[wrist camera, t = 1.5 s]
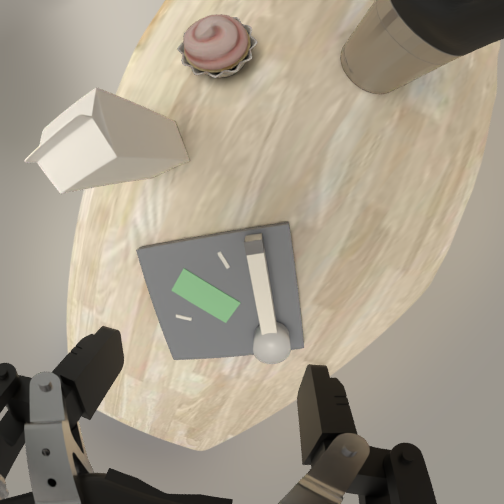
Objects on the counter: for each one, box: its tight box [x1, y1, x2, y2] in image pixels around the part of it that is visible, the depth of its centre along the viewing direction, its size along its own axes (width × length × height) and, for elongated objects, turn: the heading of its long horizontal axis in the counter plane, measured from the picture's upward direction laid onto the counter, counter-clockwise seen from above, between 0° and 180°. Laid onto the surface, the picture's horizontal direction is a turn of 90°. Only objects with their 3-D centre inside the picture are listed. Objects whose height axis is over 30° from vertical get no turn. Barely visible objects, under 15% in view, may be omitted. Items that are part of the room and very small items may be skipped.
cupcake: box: [177, 14, 257, 78], centre depth 25 cm, size 9×9×10 cm
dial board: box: [136, 222, 304, 360], centre depth 38 cm, size 21×19×2 cm
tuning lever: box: [244, 233, 291, 364], centre depth 35 cm, size 18×5×4 cm, turn 10°
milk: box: [25, 88, 190, 194], centre depth 23 cm, size 6×6×22 cm
